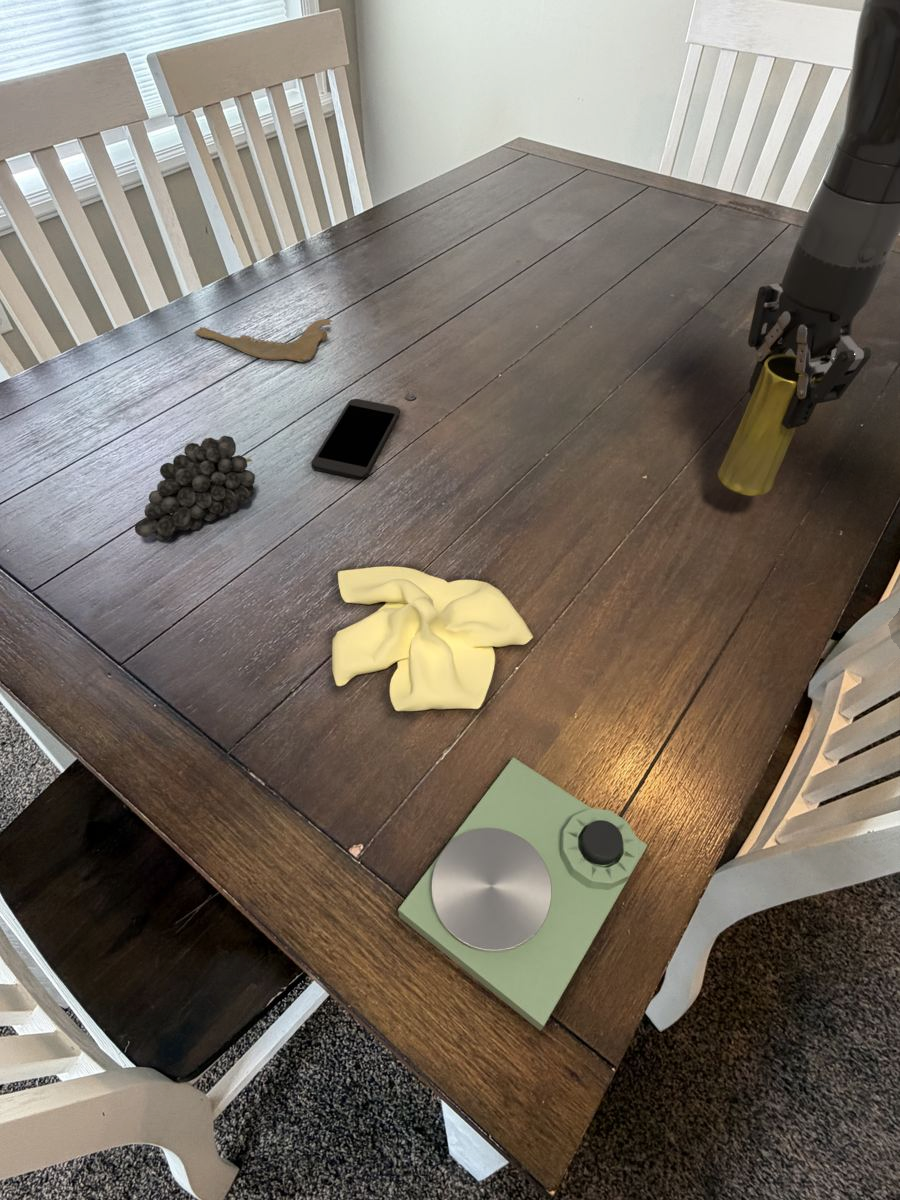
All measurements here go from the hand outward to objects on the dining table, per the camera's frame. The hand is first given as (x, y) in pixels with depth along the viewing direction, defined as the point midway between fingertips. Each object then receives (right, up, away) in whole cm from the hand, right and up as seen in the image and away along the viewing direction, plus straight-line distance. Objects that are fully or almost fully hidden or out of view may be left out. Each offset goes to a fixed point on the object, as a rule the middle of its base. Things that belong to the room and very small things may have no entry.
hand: (774, 408), depth 76 cm
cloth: (-37, -23, -1) cm, 44 cm away
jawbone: (-61, +20, +34) cm, 73 cm away
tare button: (-22, -39, -18) cm, 49 cm away
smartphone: (-46, +1, +18) cm, 49 cm away
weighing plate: (-31, -42, -21) cm, 56 cm away
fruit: (-63, -10, +9) cm, 64 cm away
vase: (0, -6, +7) cm, 10 cm away
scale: (-28, -43, -17) cm, 54 cm away
